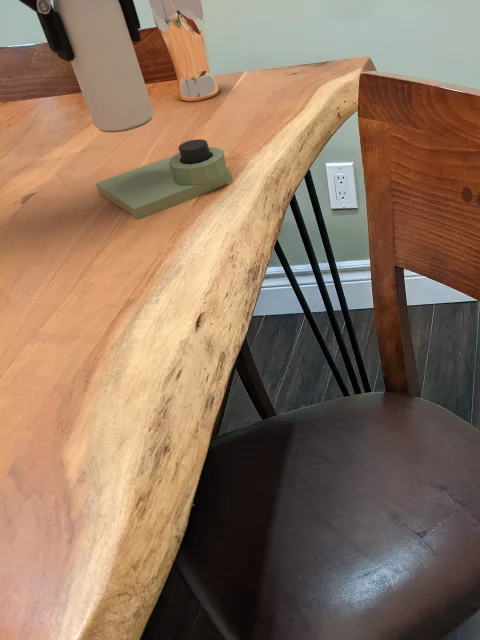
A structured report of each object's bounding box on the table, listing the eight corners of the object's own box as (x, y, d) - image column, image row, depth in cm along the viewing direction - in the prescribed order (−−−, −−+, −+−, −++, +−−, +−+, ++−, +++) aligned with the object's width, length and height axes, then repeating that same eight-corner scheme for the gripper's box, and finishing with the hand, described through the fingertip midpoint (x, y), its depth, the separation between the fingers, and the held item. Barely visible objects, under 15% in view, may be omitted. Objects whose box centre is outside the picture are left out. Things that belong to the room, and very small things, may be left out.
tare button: (191, 169, 76) (186, 152, 75) (178, 162, 78) (173, 146, 77) (216, 159, 77) (212, 143, 76) (203, 153, 79) (198, 137, 78)
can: (105, 138, 72) (54, -1, 63) (88, 124, 76) (38, -9, 67) (163, 121, 74) (121, -17, 65) (144, 108, 78) (102, -23, 69)
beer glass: (208, 102, 101) (176, -24, 90) (168, 103, 103) (131, -21, 92) (230, 87, 105) (201, -36, 95) (191, 87, 108) (158, -33, 97)
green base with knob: (140, 221, 74) (129, 193, 72) (99, 193, 81) (88, 167, 79) (239, 182, 79) (233, 154, 77) (193, 159, 86) (185, 133, 83)
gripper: (94, -211, 63) (160, 23, 76) (-103, -184, 56) (5, 67, 69) (128, -219, 58) (192, 32, 71) (-83, -191, 52) (30, 79, 65)
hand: (99, 47), depth 70 cm, fingers closed on can, 6 cm apart
